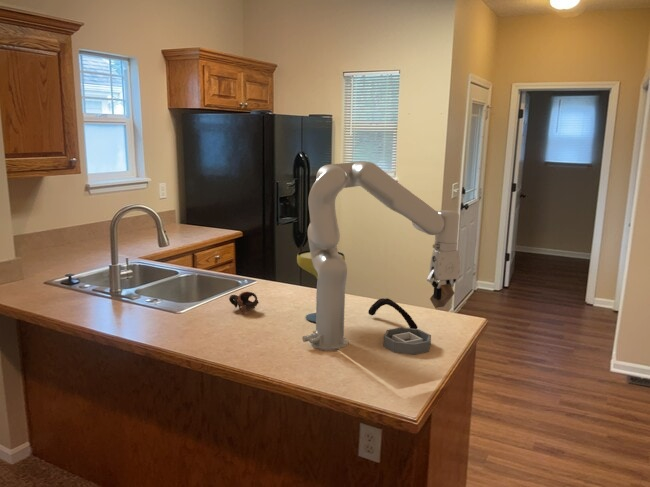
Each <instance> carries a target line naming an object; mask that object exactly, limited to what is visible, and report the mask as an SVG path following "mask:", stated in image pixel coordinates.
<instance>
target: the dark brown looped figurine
mask: <svg viewBox="0 0 650 487" xmlns="http://www.w3.org/2000/svg"><path fill="white" fill-rule="evenodd" d="M251 297H253V298H254V301H252V300H249V299H250V298H251ZM228 300H229V302H230V304H231V305H233V306H234V307H235V308H239V309H240V308H241V309H240V312H241V313H242V314H245V313H246V312H248V311H250V310H253V309H255V308H256V307H257V305H258V304H259V303H260V302H259V300H258V296H257V295H256V293H254V292H253V291H242V292H241V293H239V295H238V294H237V295H236V294H231V295H230V296H229V298H228ZM235 308H234V309H235Z"/></svg>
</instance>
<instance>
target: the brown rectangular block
mask: <svg viewBox="0 0 650 487" xmlns="http://www.w3.org/2000/svg"><path fill="white" fill-rule="evenodd" d="M440 289H441V299H440V300H438V299H435V298H434V297H433V296H434V293H433V294H432V295H431V296H430V298H429V300H430V302H431V303H432V305H433V307H434V308H435V309H437V308H443V307H445V306H446V305H447V303H448V302H449V301H450V300H451V298H452V297H453V296H454V295H455V291H454V289H453V287H452V288H451V286H450V285H449V284H446V283H445V284H441V286H440Z"/></svg>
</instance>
